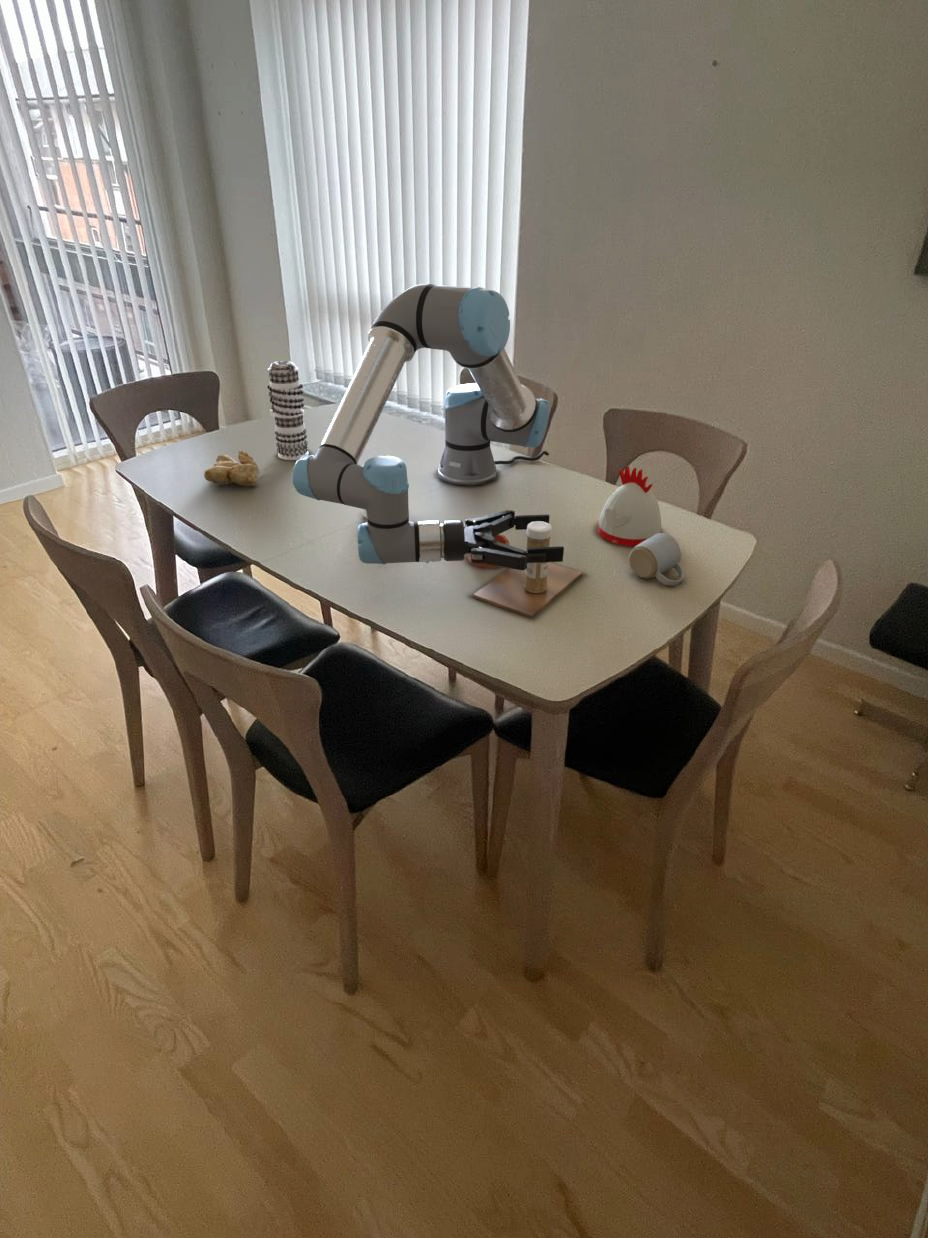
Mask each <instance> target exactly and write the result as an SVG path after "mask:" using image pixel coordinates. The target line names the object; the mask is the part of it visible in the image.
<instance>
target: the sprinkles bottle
mask: <svg viewBox="0 0 928 1238" xmlns="http://www.w3.org/2000/svg"><path fill="white" fill-rule="evenodd" d="M552 527H553V526H552V525H551V523H550V522H549V523H546V522H542V521H535V522H531V523H529V524H528V526H527V530H526V537H527V538H526V549H525V550H526V551H527V548H531V547H550V542H551V541H550V540H551V537H552V531H553V530H552V529H553V528H552ZM547 574H548V562H541V563H527V569H525V584H524V588H525V590H527V591H528V592H531V593H542V592H544V591H545V590H546V589H547Z"/></svg>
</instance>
